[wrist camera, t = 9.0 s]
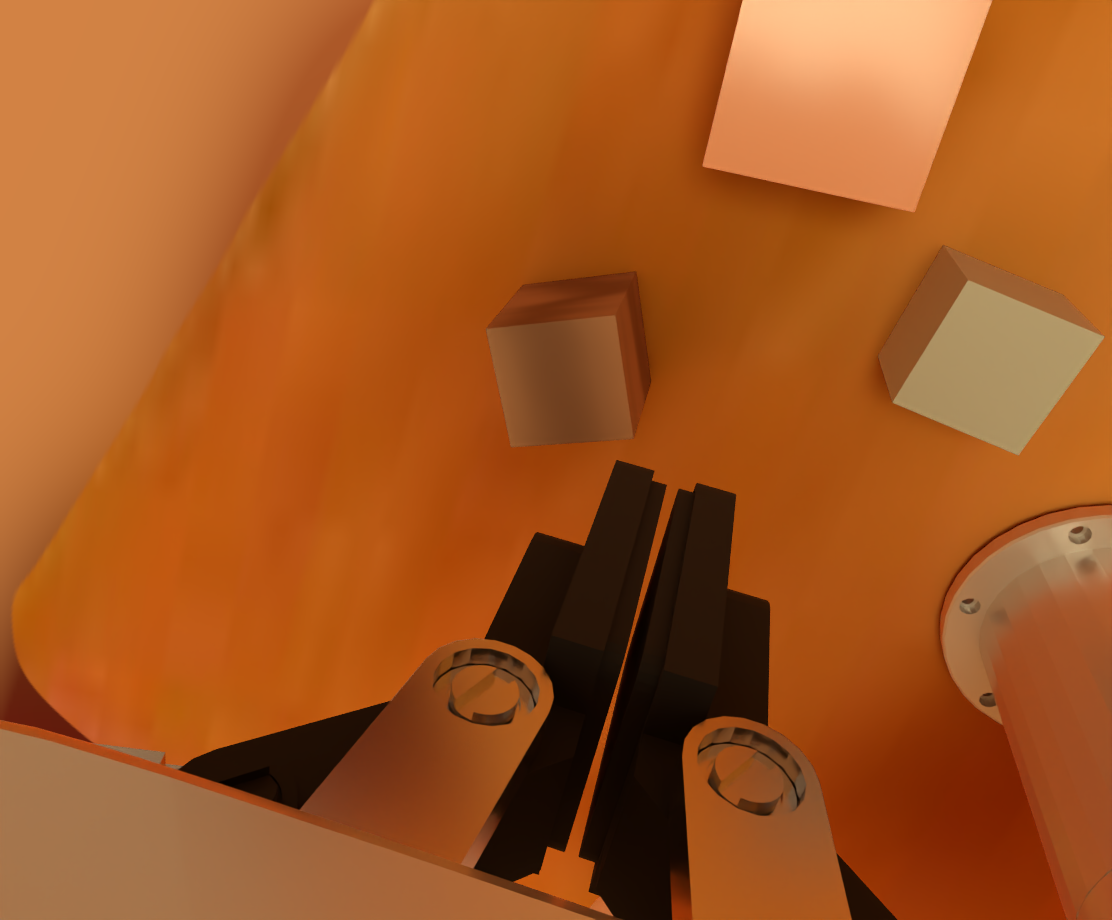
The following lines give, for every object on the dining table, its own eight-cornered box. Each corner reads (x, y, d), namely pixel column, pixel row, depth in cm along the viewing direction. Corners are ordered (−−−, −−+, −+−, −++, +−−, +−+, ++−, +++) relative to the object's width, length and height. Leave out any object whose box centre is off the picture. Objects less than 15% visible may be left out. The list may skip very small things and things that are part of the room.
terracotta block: (963, -27, 31) (1003, -31, 25) (891, 179, 34) (914, 212, 29) (762, -65, 31) (761, -77, 26) (711, 140, 35) (702, 166, 29)
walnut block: (636, 271, 38) (615, 315, 32) (651, 381, 40) (633, 438, 34) (523, 284, 39) (485, 328, 34) (543, 390, 41) (510, 447, 36)
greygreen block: (1062, 294, 35) (1104, 336, 30) (988, 401, 37) (1018, 455, 33) (943, 244, 35) (968, 280, 30) (877, 355, 37) (892, 402, 33)
